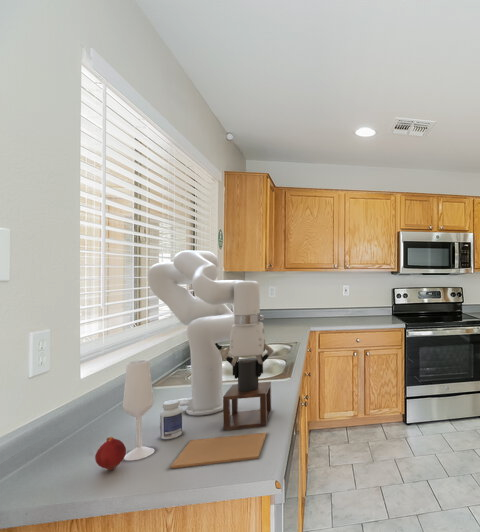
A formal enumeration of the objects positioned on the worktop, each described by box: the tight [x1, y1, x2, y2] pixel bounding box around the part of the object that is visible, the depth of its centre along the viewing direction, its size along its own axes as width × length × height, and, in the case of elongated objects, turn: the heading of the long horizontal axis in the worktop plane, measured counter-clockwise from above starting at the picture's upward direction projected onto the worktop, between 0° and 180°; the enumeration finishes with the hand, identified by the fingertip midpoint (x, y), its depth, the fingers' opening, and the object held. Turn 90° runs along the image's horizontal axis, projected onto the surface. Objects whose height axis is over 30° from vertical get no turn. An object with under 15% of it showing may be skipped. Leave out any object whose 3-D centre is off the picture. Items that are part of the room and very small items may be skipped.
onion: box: [94, 436, 127, 471], centre depth 90 cm, size 6×6×8 cm
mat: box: [170, 432, 268, 469], centre depth 98 cm, size 20×14×1 cm
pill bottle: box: [159, 399, 183, 440], centre depth 108 cm, size 5×5×10 cm
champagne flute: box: [122, 359, 155, 462], centre depth 97 cm, size 7×7×24 cm
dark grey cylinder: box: [237, 357, 259, 392], centre depth 118 cm, size 6×6×9 cm
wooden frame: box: [222, 381, 272, 431], centre depth 118 cm, size 12×12×10 cm
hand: (248, 376), depth 118 cm, fingers closed on dark grey cylinder, 6 cm apart
